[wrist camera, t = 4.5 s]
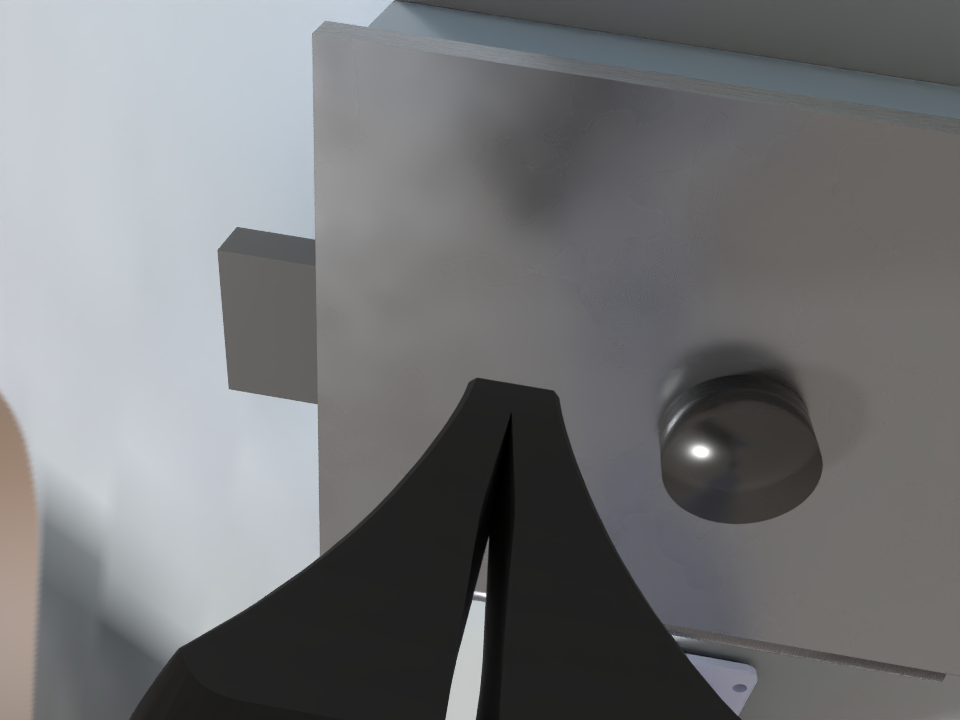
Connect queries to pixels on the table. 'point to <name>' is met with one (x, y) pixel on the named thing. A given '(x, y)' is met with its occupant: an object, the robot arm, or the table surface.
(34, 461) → the table surface
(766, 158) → the cabinet door
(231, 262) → the grey slotted box
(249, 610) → the robot arm
